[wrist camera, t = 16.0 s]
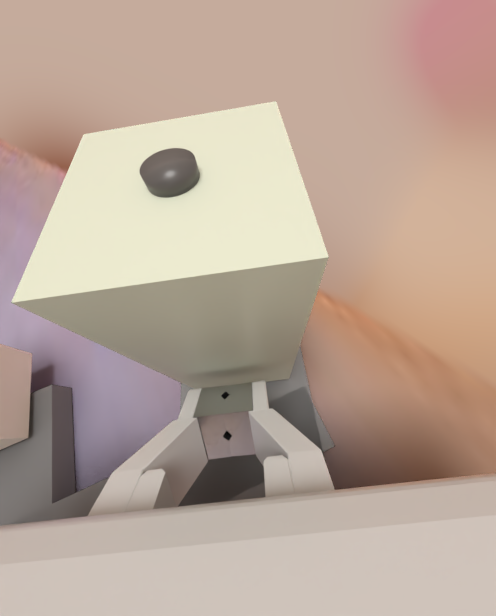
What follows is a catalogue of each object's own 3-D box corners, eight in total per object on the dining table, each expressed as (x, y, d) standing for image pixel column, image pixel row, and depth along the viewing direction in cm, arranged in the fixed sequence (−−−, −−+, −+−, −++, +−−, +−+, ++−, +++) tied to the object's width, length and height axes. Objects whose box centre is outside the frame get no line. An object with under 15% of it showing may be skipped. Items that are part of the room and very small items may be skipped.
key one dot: (289, 379, 12) (333, 243, 3) (196, 390, 13) (-10, 292, 3) (274, 298, 15) (276, 85, 5) (197, 308, 15) (74, 120, 6)
